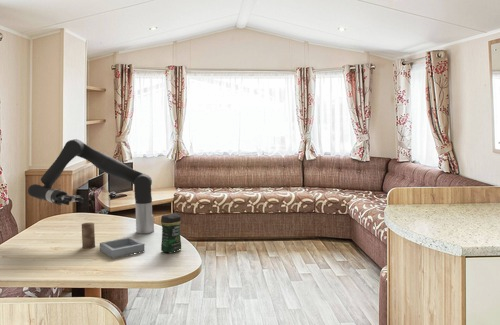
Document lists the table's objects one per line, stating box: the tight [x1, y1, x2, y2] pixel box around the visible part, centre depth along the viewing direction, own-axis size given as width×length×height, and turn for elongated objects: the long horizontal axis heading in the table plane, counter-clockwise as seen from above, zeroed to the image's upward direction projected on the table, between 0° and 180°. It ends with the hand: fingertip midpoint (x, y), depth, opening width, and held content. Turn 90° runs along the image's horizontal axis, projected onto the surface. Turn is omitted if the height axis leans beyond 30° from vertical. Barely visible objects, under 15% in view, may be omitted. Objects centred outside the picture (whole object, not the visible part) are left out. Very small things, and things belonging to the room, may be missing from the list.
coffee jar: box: [160, 212, 182, 253], centre depth 207 cm, size 10×8×19 cm
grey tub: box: [99, 236, 146, 260], centre depth 207 cm, size 16×16×4 cm
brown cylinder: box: [81, 222, 96, 250], centre depth 214 cm, size 6×6×12 cm
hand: (76, 201), depth 217 cm, fingers open, 8 cm apart
